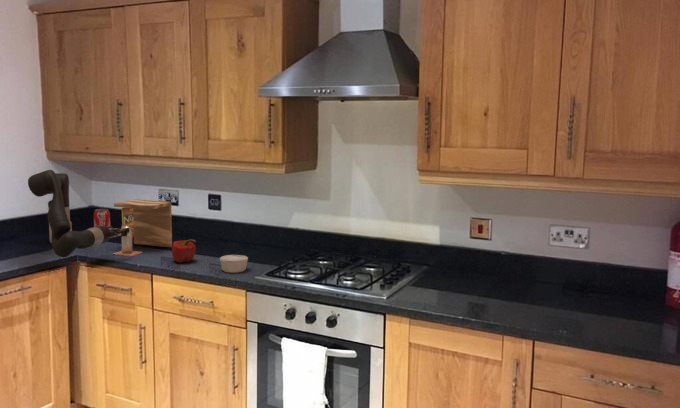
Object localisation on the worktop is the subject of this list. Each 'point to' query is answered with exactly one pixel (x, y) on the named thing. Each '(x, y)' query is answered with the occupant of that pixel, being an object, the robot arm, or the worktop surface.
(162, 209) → the oak shelf
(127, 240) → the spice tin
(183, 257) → the vegetable
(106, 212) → the beverage can
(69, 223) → the robot arm
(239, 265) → the ramekin
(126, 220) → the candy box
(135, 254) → the terracotta mat
